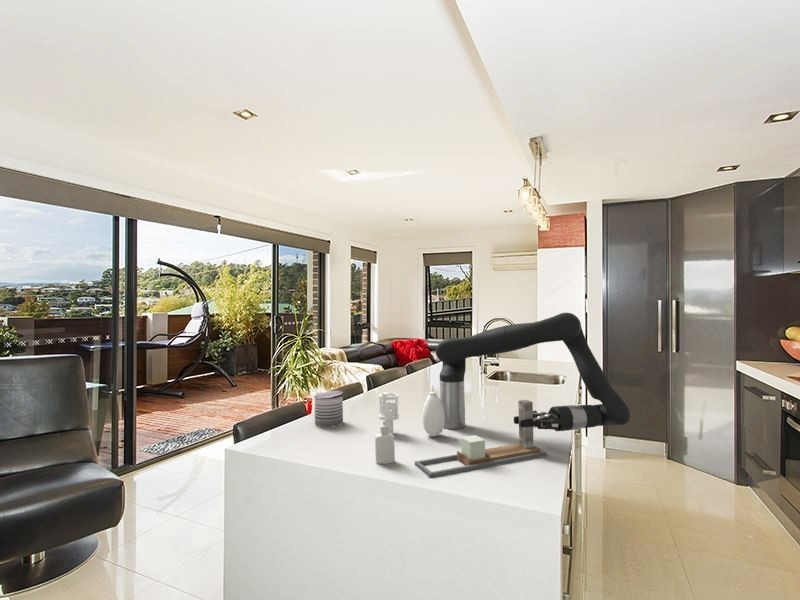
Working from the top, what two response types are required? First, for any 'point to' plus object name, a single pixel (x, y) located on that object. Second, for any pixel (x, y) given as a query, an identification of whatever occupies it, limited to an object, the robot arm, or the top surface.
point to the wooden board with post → (513, 450)
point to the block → (473, 447)
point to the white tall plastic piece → (389, 409)
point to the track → (469, 467)
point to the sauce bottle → (433, 415)
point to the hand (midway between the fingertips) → (517, 422)
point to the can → (328, 409)
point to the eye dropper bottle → (384, 446)
